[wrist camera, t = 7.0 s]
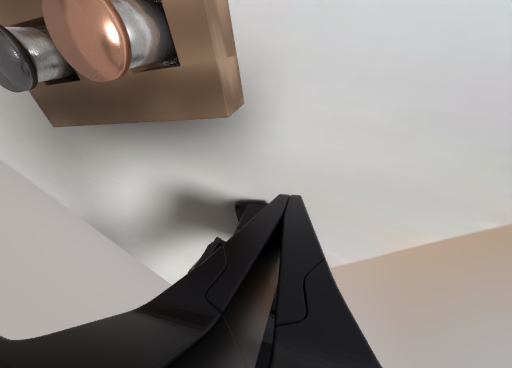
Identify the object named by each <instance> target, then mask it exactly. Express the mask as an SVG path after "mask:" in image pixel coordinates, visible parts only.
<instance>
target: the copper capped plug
mask: <svg viewBox="0 0 512 368" xmlns="http://www.w3.org/2000/svg"><path fill="white" fill-rule="evenodd" d="M42 11H43V17H44V21H45V24H46V27H47V30H48V32H49V34H50V36H51V38H52V40H53V42H54V44H55V46H56V47H57V49H58V50H59V52H60V53H61V55H62V56H63V57H64V59H65V60H66V61H67V62H68V63H69V64H70V65H71V66H72V67H73V68H74V69H75V70H76V71H77V72H79V73H80V74H81V75H83V76H84V77H86V78H88V79H90V80H93V81H96V82H107V81H111V80H115V79H119V78H121V77H123V76H124V75H125V74H126V73H127V71H128V70H129V69H130V68H134V67H139V66H144V65H149V64H154V63H159V62H164V61H169V60H173V59H175V58H177V57H178V55H177V52H176V49H175V45H174V42H173V38H172V35H171V32H170V28H169V25H168V21H167V18H166V15H165V11H164V8H163V4H162V3H159V2H152V1H145V0H42Z"/></svg>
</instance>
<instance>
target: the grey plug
mask: <svg viewBox="0 0 512 368" xmlns="http://www.w3.org/2000/svg"><path fill="white" fill-rule="evenodd" d="M74 75H78V74H77V73H76V71H75V69H74V68H73V67H72V66H71V65H70V64H69V63H68V62H67V61H66V60H65V59H64V57H63V56H62V55H61V53H60V52H59V50H58V49H57V47H56V46H55V44H54V42H53V40H52V38H51V36H50V34H49V32H48V30H47V27H4V26H2V25H1V24H0V85H1V86H3V87H4V88H6V89H8V90H10V91H13V92H23V91H28V90H32V89H34V88H35V87H36V86H37V84H38V82H42V81H48V80H53V79H58V78H64V77H69V76H74Z"/></svg>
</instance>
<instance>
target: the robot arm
mask: <svg viewBox="0 0 512 368" xmlns="http://www.w3.org/2000/svg"><path fill="white" fill-rule="evenodd" d="M239 206H240V207H239ZM235 210H236V214H237V218H238V222H239V223H238V225H237V228H236V230H235V233H234V235H233V236H232V237H231V238H230V239H229V240H228V241H227V242H226V241H223V240H221V238H218V237H216V239H215V240H214V241H213V242H211V244H209V245H208V246H207V248H206V250H205V252H204V253H203V255H202V257H201V258H200V259H199V260H198V261H197V262H196V263H195V265H194V266H193V267H192V268H191V269H190V270H189V272H188V274H187V275H185V276H184V277H183V278H181V279H180V280H179V281H177V282H176V283H175V284H173V285H172V286H171V287H169V288H168V289H167V290H165V291H164V292H162V293H161V294H160V295H158V296H157V297H156V298H154V299H153V300H151V301H150V302H148V303H147V304H145V305H143V306H141V307H139V308H137V309H134V310H132V311H129V312H125V313H122V314H118V315H115V316H112V317H108V318H104V319H101V320H97V321H94V322H90V323H87V324H83V325H80V326H77V327H72V328H69V329H65V330H62V331H58V332H55V333H51V334H48V335H44V336H40V337H36V338H30V339H24V340H9V339H7V338H4V337H2V336H0V368H382V366H381V365H380V363H379V362H378V360H377V358H376V356H375V355H374V353H373V351H372V350H371V348H370V346H369V344H368V342H367V340H366V339H365V337H364V335H363V333H362V331H361V330H360V328H359V326H358V324H357V322H356V321H355V319H354V317H353V315H352V313H351V312H350V310H349V308H348V306H347V304H346V303H345V301H344V299H343V297H342V295H341V293H340V291H339V289H338V287H337V285H336V282H335V280H334V278H333V276H332V273H331V271H330V268H329V266H328V263H327V261H326V259H325V256H324V253H323V251H322V248H321V246H320V243H319V241H318V238H317V236H316V233H315V230H314V228H313V225H312V223H311V220H310V218H309V215H308V213H307V210H306V207H305V205H304V202H303V200H302V197H301V196H300V195H291V196H290V195H286V194H280V195H278V196H277V197H276V198H275V199H274V200H273V201H271V202H270V203H269V204H254V203H241V202H238V203H236V205H235Z"/></svg>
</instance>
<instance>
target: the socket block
mask: <svg viewBox="0 0 512 368" xmlns="http://www.w3.org/2000/svg"><path fill="white" fill-rule="evenodd" d="M145 1H152V2H153V1H157V0H145ZM161 1H162V4H163V8H164V11H165V15H166V18H167V21H168V25H169V28H170V32H171V35H172V38H173V42H174V45H175V49H176V52H177V55H178V59H179V62H180V64H173V65H166V66H164V65H163V62H159V63H154V64H149V65H144V66H139V67H134V68H130V69H129V70H128V71H127V73H126V74H125V75H124V76H123V77H121V78H119V79H115V80H111V81H107V82H96V81H93V80H90V79H88V78H86V77H84V76H83V75H81V74H80V73H79V72H77V71H76V70H75V71H76V73H77V74H78V75H74V76H69V77H64V78H58V79H53V80H48V81H42V82H38V84H37V86H36V87H35V88H34V89H32V90H29V92H30V93H31V95H32V96H33V98H34V99H35V101H36V102H37V104H38V105H39V107H40V108H41V110H42V111H43V112H44V114H45V115H46V117H47V118H48V120H49V121H50V123H51V124H52V126H53V127H64V126H82V125H100V124H118V123H137V122H155V121H173V120H191V119H209V118H227V117H229V116H230V115H231V114H233V113H234V112H235V111H236V110H237V109H238V108H239V107H240V106H242V105H243V104H244V98H243V92H242V86H241V79H240V73H239V67H238V61H237V55H236V49H235V43H234V36H233V30H232V24H231V18H230V12H229V6H228V0H161ZM0 24H1V25H2V26H4V27H46V24H45V21H44V17H43V11H42V0H0Z"/></svg>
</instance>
